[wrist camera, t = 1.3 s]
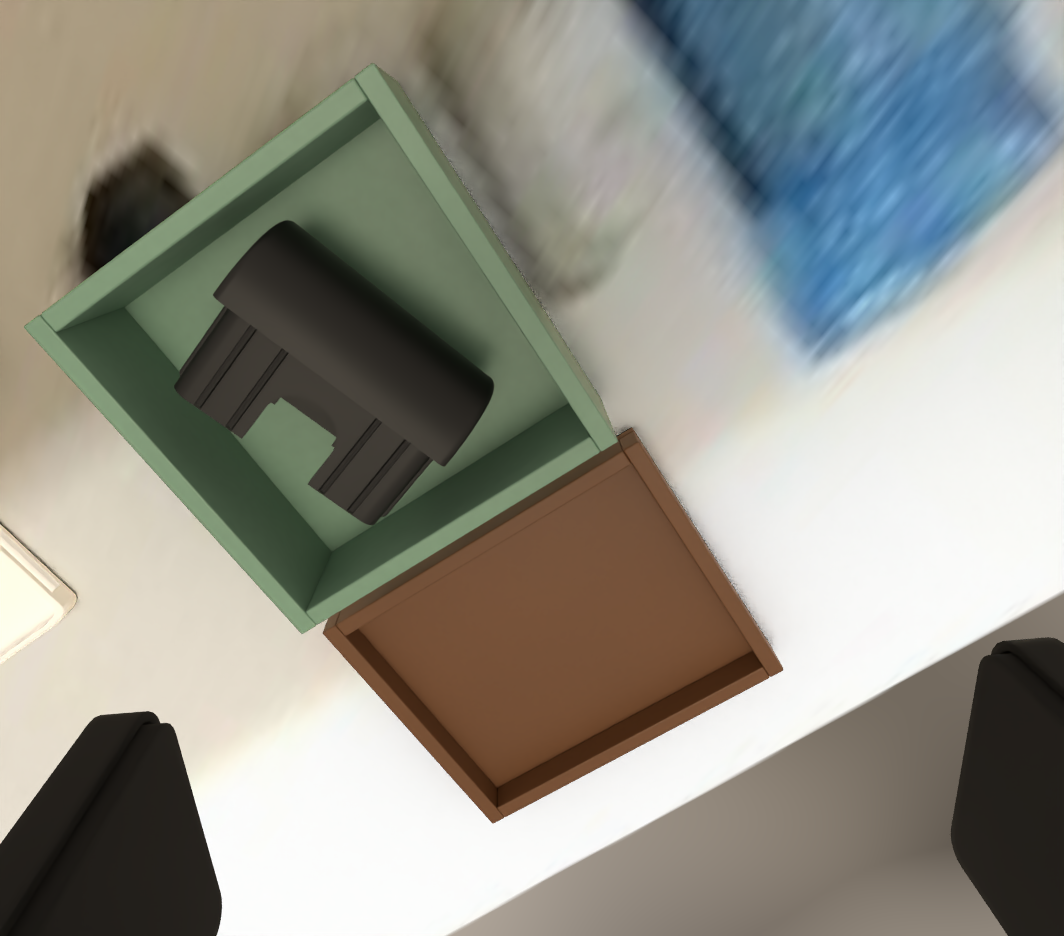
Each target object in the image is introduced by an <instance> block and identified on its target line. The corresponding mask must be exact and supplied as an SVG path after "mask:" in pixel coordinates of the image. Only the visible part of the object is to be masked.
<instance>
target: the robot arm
mask: <svg viewBox="0 0 1064 936" xmlns="http://www.w3.org/2000/svg"><path fill="white" fill-rule="evenodd" d="M951 840H952V845H953V849H954V852H955V855H956V857H957V860H958V861H959V863H960V865H961V867H962V868H963V869H964V871H965V873H966V874H967V876H968V877H969V879H970V880H971V882H972V883H973V884H974V886H975V888H976V889H977V890H978V892H979V893H980V895H981V896H982V898H983V899H984V901H985V902H986V904H987V905H988V907H989V908H990V910H991V911H992V913H993V914H994V916H995V917H996V919H997V920H998V921H999V923H1000V925H1001V926H1002V927H1003V929H1004V930H1005V932H1006V933H1007V935H1008V936H1064V643H1062V642H1061V641H1059V640H1058V639H1055V638H1049V637H1048V638H1035V639H1023V640H1011V641H1002V642H1000V643H997V644H996V646H995V647H994V648H993V650H992V653H991V655H988V656H985V657H984V658H983V659H982V660H981V662H980V665H979V669H978V675H977V682H976V686H975V692H974V698H973V704H972V710H971V716H970V721H969V727H968V733H967V739H966V745H965V751H964V756H963V762H962V768H961V774H960V779H959V786H958V791H957V797H956V803H955V809H954V814H953V820H952V826H951ZM221 912H222V898H221V893H220V889H219V885H218V882H217V878H216V875H215V871H214V868H213V864H212V861H211V857H210V853H209V850H208V846H207V843H206V839H205V836H204V832H203V829H202V825H201V821H200V818H199V814H198V811H197V807H196V804H195V800H194V797H193V793H192V789H191V786H190V782H189V779H188V775H187V772H186V768H185V765H184V761H183V757H182V754H181V750H180V747H179V743H178V740H177V736H176V733H175V730H174V728H173V727H172V726H171V724H168V723H160V721H159V719H158V717H157V716H156V715H155V714H154V713H153V712H149V711H146V712H133V713H121V714H109V715H100V716H97V717H95V718H94V719H93V720H92V721H91V722H90V723H89V724H88V725H87V726H86V728H85V729H84V730H83V732H82V733H81V735H80V736H79V737H78V739H77V740H76V741H75V743H74V744H73V745H72V747H71V748H70V750H69V751H68V752H67V754H66V755H65V756H64V758H63V759H62V761H61V762H60V763H59V765H58V766H57V767H56V769H55V770H54V771H53V773H52V774H51V776H50V777H49V778H48V780H47V781H46V782H45V784H44V785H43V786H42V788H41V789H40V791H39V792H38V793H37V795H36V796H35V797H34V799H33V800H32V802H31V803H30V804H29V806H28V807H27V808H26V810H25V811H24V812H23V814H22V815H21V817H20V818H19V819H18V821H17V822H16V823H15V825H14V826H13V828H12V829H11V830H10V832H9V833H8V834H7V836H6V837H5V838H4V840H3V841H2V843H1V844H0V936H216V935H217V932H218V929H219V925H220V920H221Z"/></svg>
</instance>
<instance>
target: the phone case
mask: <svg viewBox="0 0 1064 936" xmlns="http://www.w3.org/2000/svg"><path fill="white" fill-rule="evenodd" d="M76 600H77V598H76V595H75V594H74V593H73V592H72V591H71V590H70V589H69V588H68V587H67V586H66V585H65V584H64V583H63V582H62V581H61V580H59V579H58V578H57V577H56V576H55V575H54V574H53V573H52V572H51V571H50V570H49V569H48V568H47V567H46V566H44V565H43V564H42V563H41V562H40V561H39V560H38V559H37V558H36V557H35V556H34V555H33V554H32V553H31V552H30V551H28V550H27V549H26V548H25V547H24V546H23V545H22V544H21V543H20V542H19V541H18V540H17V539H16V538H15V537H13V536H12V535H11V534H10V533H9V532H8V531H7V530H6V529H5V528H4V527H3V526H2V525H1V524H0V664H1V663H3V662H4V661H6V660H7V659H8V658H10V657H11V656H13V655H14V654H15V653H17V652H18V651H20V650H21V649H22V648H24V647H25V646H27V645H28V644H30V643H31V642H32V641H34V640H35V639H37V638H38V637H39V636H41V635H42V634H44V633H45V632H46V631H48V630H49V629H51V628H52V627H53V626H55V625H56V624H57V623H58V622H59V621H60V620H61V619H62V618H63V617H64V616H65V615H66V614H67V613H68V612H69V611H70V610H71V609H72V608H73V607H74V605H75V603H76Z"/></svg>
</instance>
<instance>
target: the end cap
mask: <svg viewBox="0 0 1064 936" xmlns="http://www.w3.org/2000/svg"><path fill="white" fill-rule="evenodd" d="M213 296H214V298H215V299H216V300H218V301H219V302H220V303H222V304H223V305H224V307H223V309H222V310H221V312H220V313H219V315H218V316H217V317H216V319H215V320H214V322H213V323H212V325H211V326H210V327H209V329H208V330H207V332H206V333H205V335H204V336H203V338H202V339H201V340H200V342H199V343H198V345H197V346H196V348H195V349H194V351H193V352H192V353H191V355H190V356H189V358H188V359H187V361H186V362H185V364H184V365H183V366H182V368H181V369H180V372H179V373H180V378H179V379H178V381H177V382H176V383H175V385H174V388H175V390H176V392H177V393H178V394H179V395H180V396H181V397H182V398H184V399H185V400H187V401H188V402H189V403H191V404H192V405H194V406H195V407H197V408H198V409H200V410H201V411H202V412H204V413H205V414H207V415H208V416H210V417H211V418H213V419H214V420H215V421H217V422H218V423H220V424H221V425H223V426H224V427H225V428H227V429H228V430H230V431H231V432H233V433H234V434H236V435H237V436H238V437H240V438H241V439H242V438H243V437H244V436H245V435H246V433H247V432H248V431H249V429H250V428H251V427H252V425H253V424H254V423H255V421H256V420H257V419H258V417H259V416H260V415H261V413H262V412H263V411H264V409H265V408H266V407H267V405H268V404H270V403H273V404H274V405H275V404H276V403H277V401H278V400H279V399H280V398H282V399H284V400H285V401H287V402H288V403H289V404H291V405H292V406H293V407H295V408H296V409H298V410H299V411H300V412H302V413H303V414H305V415H306V416H307V417H309V418H310V419H312V420H313V421H314V422H316V423H317V424H318V425H320V426H321V427H323V428H324V429H325V430H327V431H328V432H330V433H331V434H332V435H334V436H335V437H336V440H335V441H334V442H333V444H332V445H331V446H333V447H334V449H333V451H332V453H331V454H330V455H329V457H328V458H327V459H326V461H325V462H324V463H323V464H322V466H321V467H320V468H319V469H318V471H317V472H316V473H315V474H314V476H313V477H312V478H311V479H310V481H309V483H308V485H309V486H311V487H312V488H313V489H315V490H316V491H318V492H319V493H321V494H322V495H324V496H325V497H326V498H328V499H329V500H331V501H332V502H334V503H335V504H337V505H338V506H339V507H341V508H342V509H344V510H345V511H347V512H348V513H349V514H351V515H352V516H354V517H355V518H357V519H358V520H360V521H361V522H363V523H365V524H367V525H375V523H376V522H377V521H378V520H379V519H380V517H385V516H386V515H387V514H388V513H389V512H390V511H391V510H392V508H393V507H394V506H395V505H396V504H397V502H398V501H399V500H400V499H401V498H402V497H403V495H404V494H405V493H406V492H407V491H408V489H409V488H410V487H411V486H412V485H413V483H414V482H415V481H416V480H417V479H418V477H419V476H420V475H421V474H422V473H423V472H424V470H425V469H426V468H427V467H428V466H429V464H430V463H431V462H432V461H433V460H434V461H435V462H436V463H438V464H439V465H441V466H444V467H445V466H446V465H447V464H448V462H449V461H450V460H451V459H452V457H453V456H454V455H455V454H456V452H457V451H458V450H459V448H460V447H461V446H462V445H463V443H464V442H465V440H466V439H467V438H468V436H469V435H470V433H471V432H472V430H473V429H474V427H475V426H476V424H477V423H478V421H479V420H480V418H481V416H482V415H483V413H484V411H485V410H486V408H487V406H488V404H489V402H490V400H491V397H492V395H493V391H494V382H493V380H492V378H491V377H489V376H488V375H487V374H485V373H484V372H483V371H482V370H480V369H479V368H478V367H477V366H475V365H474V364H473V363H472V362H470V361H469V360H468V359H467V358H465V357H464V356H463V355H462V354H460V353H459V352H458V351H456V350H455V349H454V348H453V347H451V346H450V345H449V344H448V343H446V342H445V341H444V340H443V339H441V338H440V337H439V336H438V335H436V334H435V333H434V332H433V331H431V330H430V329H429V328H427V327H426V326H425V325H424V324H422V323H421V322H420V321H419V320H417V319H416V318H415V317H414V316H412V315H411V314H410V313H409V312H407V311H406V310H405V309H404V308H402V307H401V306H400V305H398V304H397V303H396V302H395V301H393V300H392V299H391V298H390V297H388V296H387V295H386V294H385V293H383V292H382V291H381V290H380V289H378V288H377V287H376V286H375V285H373V284H372V283H371V282H369V281H368V280H367V279H366V278H364V277H363V276H362V275H361V274H359V273H358V272H357V271H356V270H354V269H353V268H352V267H351V266H349V265H348V264H347V263H345V262H344V261H343V260H342V259H340V258H339V257H338V256H337V255H335V254H334V253H333V252H332V251H330V250H329V249H328V248H327V247H325V246H324V245H323V244H322V243H320V242H319V241H318V240H316V239H315V238H314V237H313V236H311V235H310V234H309V233H308V232H306V231H305V230H304V229H303V228H301V227H300V226H299V225H298V224H296V223H295V222H293V221H289V220H285V221H282V222H280V223H278V224H276V225H275V226H273V227H272V228H270V229H269V230H268V231H267V232H266V233H265V234H263V235H262V236H261V237H260V238H259V239H258V240H257V241H256V242H255V243H254V244H253V245H252V246H251V247H250V248H249V250H248V251H247V252H246V253H245V254H244V255H243V256H242V257H241V259H240V260H239V261H238V262H237V263H236V264H235V266H234V267H233V268H232V269H231V271H230V272H229V273H228V274H227V276H226V277H225V278H224V280H223V281H222V282H221V284H220V285H219V286H218V288H217V289H216V291H215V292H214V293H213Z"/></svg>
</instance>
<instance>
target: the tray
mask: <svg viewBox="0 0 1064 936" xmlns="http://www.w3.org/2000/svg"><path fill="white" fill-rule="evenodd" d="M617 439H618V442H617V443H615V444H613V445H612V446H610V447H608V448H607V449H605V450H604V451H600V452H599V453H598V454H597V455H595V456H593V457H592V458H590V459H588V460H587V461H585V462H583V463H582V464H580V465H578V466H577V467H575V468H574V469H572V470H570V471H569V472H567V473H565V474H564V475H562V476H560V477H559V478H557V479H556V480H554V481H552V482H551V483H549V484H547V485H546V486H544V487H542V488H541V489H539V490H537V491H536V492H534V493H533V494H531V495H529V496H528V497H526V498H524V499H523V500H521V501H519V502H518V503H516V504H515V505H513V506H511V507H510V508H508V509H506V510H505V511H503V512H501V513H500V514H498V515H496V516H495V517H493V518H492V519H490V520H488V521H487V522H485V523H483V524H482V525H480V526H478V527H477V528H475V529H474V530H472V531H470V532H469V533H467V534H465V535H464V536H462V537H460V538H459V539H457V540H455V541H454V542H452V543H451V544H449V545H447V546H446V547H444V548H442V549H441V550H439V551H437V552H436V553H434V554H433V555H431V556H429V557H428V558H426V559H424V560H423V561H421V562H419V563H418V564H416V565H414V566H413V567H411V568H410V569H408V570H406V571H405V572H403V573H401V574H400V575H398V576H396V577H395V578H393V579H392V580H390V581H388V582H387V583H385V584H383V585H382V586H380V587H378V588H377V589H375V590H373V591H372V592H370V593H369V594H367V595H365V596H364V597H362V598H360V599H359V600H357V601H355V602H354V603H352V604H351V605H349V606H347V607H346V608H344V609H342V610H341V611H339V612H337V613H336V614H334V615H332V616H331V617H329V618H328V621H327V623H326V626H325V628H324V631H323V634H324V635H325V636H326V638H327V639H328V640H329V641H330V642H331V643H332V644H333V645H334V647H335V648H336V649H337V650H338V651H339V652H340V653H341V654H342V655H343V657H344V658H345V659H346V660H347V661H348V662H349V663H350V664H351V666H352V667H353V668H354V669H355V670H356V671H357V672H358V673H359V675H360V676H361V677H362V678H363V679H364V680H365V681H366V682H367V683H368V685H369V686H370V687H371V688H372V689H373V690H374V691H375V692H376V694H377V695H378V696H379V697H380V698H381V699H382V700H383V701H384V703H385V704H386V705H387V706H388V707H389V708H390V709H391V710H392V711H393V713H394V714H395V715H396V716H397V717H398V718H399V719H400V720H401V722H402V723H403V724H404V725H405V726H406V727H407V728H408V729H409V730H410V732H411V733H412V734H413V735H414V736H415V737H416V738H417V739H418V741H419V742H420V743H421V744H422V745H423V746H424V747H425V748H426V750H427V751H428V752H429V753H430V754H431V755H432V756H433V757H434V758H435V760H436V761H437V762H438V763H439V764H440V765H441V766H442V767H443V769H444V770H445V771H446V772H447V773H448V774H449V775H450V776H451V777H452V779H453V780H454V781H455V782H456V783H457V784H458V785H459V786H460V788H461V789H462V790H463V791H464V792H465V793H466V794H467V795H468V797H469V798H470V799H471V800H472V801H473V802H474V803H475V804H476V805H477V807H478V808H479V809H480V810H481V811H482V812H483V813H484V814H485V816H486V817H487V818H488V819H489V820H490V821H491V822H492V823H495V822H497V821H499V820H501V819H503V818H504V817H507V816H508V815H510V814H512V813H514V812H516V811H518V810H520V809H522V808H524V807H525V806H527V805H529V804H531V803H533V802H535V801H537V800H539V799H541V798H543V797H544V796H546V795H548V794H550V793H552V792H554V791H556V790H558V789H560V788H561V787H563V786H565V785H567V784H569V783H571V782H573V781H575V780H577V779H579V778H580V777H582V776H584V775H586V774H588V773H590V772H592V771H594V770H596V769H597V768H599V767H601V766H603V765H605V764H607V763H609V762H611V761H613V760H615V759H616V758H618V757H620V756H622V755H624V754H626V753H628V752H630V751H632V750H633V749H635V748H637V747H639V746H641V745H643V744H645V743H647V742H649V741H651V740H652V739H654V738H656V737H658V736H660V735H662V734H664V733H666V732H668V731H669V730H671V729H673V728H675V727H677V726H679V725H681V724H683V723H685V722H687V721H688V720H690V719H692V718H694V717H696V716H698V715H700V714H702V713H704V712H706V711H707V710H709V709H711V708H713V707H715V706H717V705H719V704H721V703H723V702H724V701H726V700H728V699H730V698H732V697H734V696H736V695H738V694H740V693H742V692H743V691H745V690H747V689H749V688H751V687H753V686H755V685H757V684H759V683H760V682H762V681H764V680H766V679H768V678H769V676H770V677H771V676H773V675H775V674H777V673H779V672H781V671H783V667H782V665H781V663H780V662H779V660H778V658H777V656H776V654H775V653H774V651H773V649H772V647H771V646H770V644H769V642H768V641H767V639H766V638H765V636H764V634H763V633H762V631H761V630H760V628H759V627H758V625H757V623H756V622H755V620H754V619H753V617H752V616H751V614H750V612H749V611H748V609H747V608H746V606H745V605H744V603H743V601H742V600H741V598H740V597H739V595H738V594H737V592H736V590H735V589H734V587H733V586H732V584H731V583H730V581H729V579H728V578H727V576H726V575H725V573H724V571H723V570H722V568H721V567H720V565H719V564H718V562H717V560H716V559H715V557H714V556H713V554H712V553H711V551H710V549H709V548H708V546H707V545H706V543H705V542H704V540H703V538H702V537H701V535H700V534H699V532H698V531H697V529H696V527H695V526H694V524H693V523H692V521H691V519H690V518H689V516H688V515H687V513H686V512H685V510H684V508H683V507H682V505H681V504H680V502H679V501H678V499H677V497H676V496H675V494H674V493H673V491H672V490H671V488H670V486H669V485H668V483H667V482H666V480H665V479H664V477H663V475H662V474H661V472H660V471H659V469H658V467H657V466H656V464H655V463H654V461H653V460H652V458H651V456H650V455H649V453H648V452H647V450H646V449H645V447H644V445H643V444H642V442H641V441H640V439H639V438H638V436H637V434H636V433H635V431H634V430H633V428H630V429H628V430H627V431H625V432H623V433H622V434H620V435H619V436H617Z"/></svg>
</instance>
